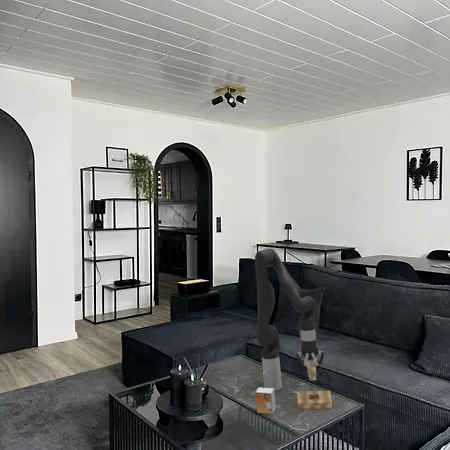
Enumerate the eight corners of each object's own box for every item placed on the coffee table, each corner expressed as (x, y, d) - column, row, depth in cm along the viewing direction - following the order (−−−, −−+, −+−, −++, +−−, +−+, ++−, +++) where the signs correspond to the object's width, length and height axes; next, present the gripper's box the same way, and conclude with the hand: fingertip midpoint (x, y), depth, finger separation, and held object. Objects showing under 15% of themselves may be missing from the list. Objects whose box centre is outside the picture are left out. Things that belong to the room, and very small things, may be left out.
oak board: (298, 409, 206) (297, 403, 205) (298, 397, 217) (297, 391, 217) (332, 408, 203) (331, 402, 203) (330, 396, 215) (329, 390, 214)
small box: (257, 413, 206) (254, 392, 205) (260, 407, 211) (258, 386, 210) (273, 414, 203) (271, 393, 202) (276, 408, 208) (274, 387, 208)
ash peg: (308, 380, 208) (306, 360, 207) (308, 377, 212) (306, 357, 211) (317, 380, 207) (315, 360, 206) (316, 376, 211) (314, 357, 210)
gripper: (322, 334, 211) (326, 368, 212) (293, 336, 213) (297, 370, 214) (323, 339, 203) (327, 375, 204) (293, 341, 206) (297, 376, 207)
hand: (311, 372), depth 209 cm, fingers closed on ash peg, 4 cm apart
